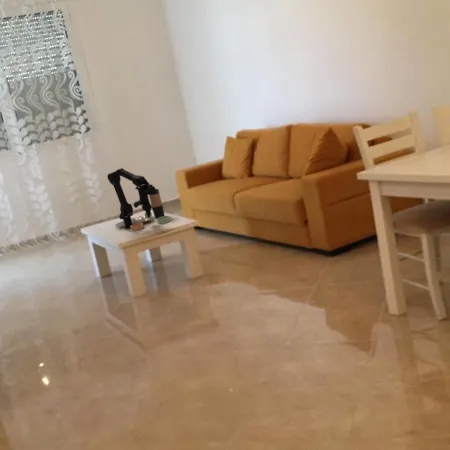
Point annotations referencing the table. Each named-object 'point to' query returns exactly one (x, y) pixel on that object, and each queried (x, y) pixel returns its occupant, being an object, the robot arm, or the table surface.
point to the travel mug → (156, 205)
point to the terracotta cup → (136, 226)
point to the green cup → (163, 219)
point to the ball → (147, 216)
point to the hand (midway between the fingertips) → (148, 216)
